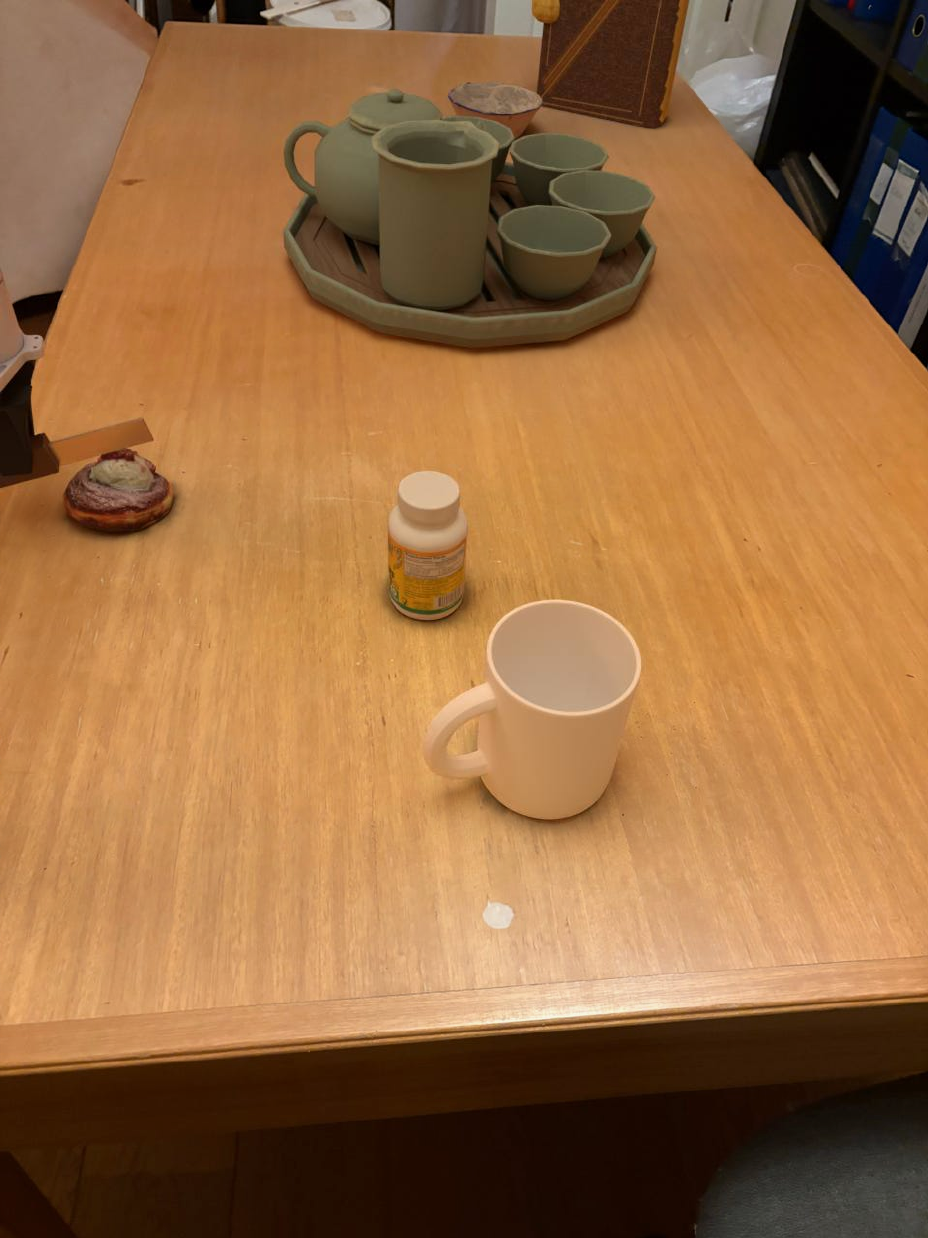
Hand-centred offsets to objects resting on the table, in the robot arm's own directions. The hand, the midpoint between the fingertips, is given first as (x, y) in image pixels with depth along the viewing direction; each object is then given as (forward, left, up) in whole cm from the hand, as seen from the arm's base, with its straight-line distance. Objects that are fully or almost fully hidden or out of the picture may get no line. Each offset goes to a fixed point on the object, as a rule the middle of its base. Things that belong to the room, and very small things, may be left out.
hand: (18, 462), depth 67 cm
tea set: (+43, +37, -5) cm, 57 cm away
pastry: (+6, 0, -5) cm, 8 cm away
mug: (+29, -30, -5) cm, 42 cm away
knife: (+4, 0, 0) cm, 4 cm away
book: (+74, +83, -5) cm, 111 cm away
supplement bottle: (+27, -14, -5) cm, 31 cm away
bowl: (+56, +75, -5) cm, 94 cm away
